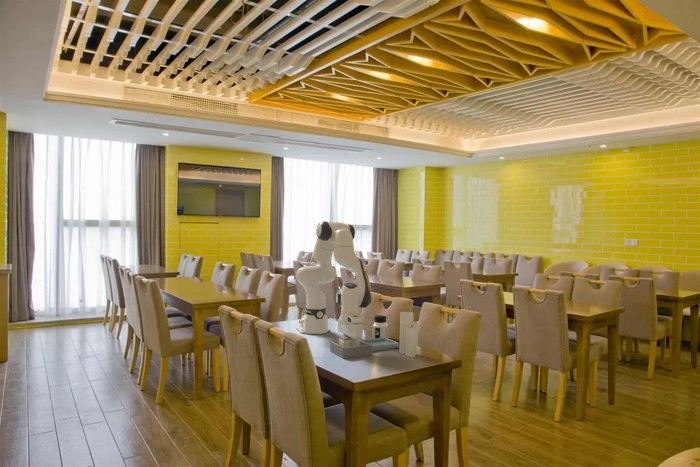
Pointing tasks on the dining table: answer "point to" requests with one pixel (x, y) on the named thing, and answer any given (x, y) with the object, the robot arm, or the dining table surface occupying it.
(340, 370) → the dining table surface
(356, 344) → the caddy
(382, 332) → the container
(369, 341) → the tray
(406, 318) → the candle
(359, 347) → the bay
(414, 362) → the dining table surface
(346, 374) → the dining table surface
